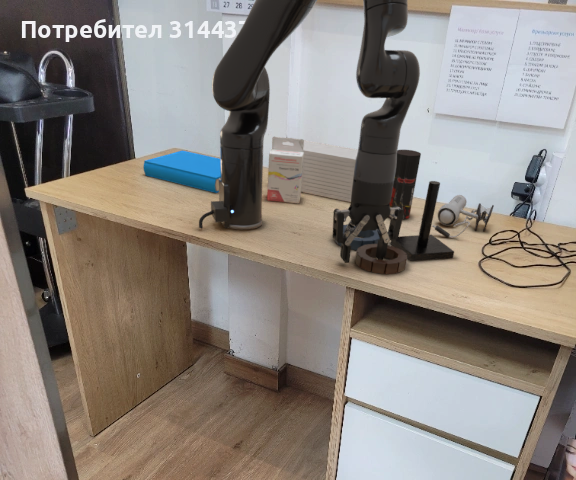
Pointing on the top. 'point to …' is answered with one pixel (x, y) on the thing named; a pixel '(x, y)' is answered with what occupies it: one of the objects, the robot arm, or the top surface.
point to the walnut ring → (381, 266)
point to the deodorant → (405, 180)
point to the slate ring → (369, 235)
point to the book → (186, 170)
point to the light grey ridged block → (327, 170)
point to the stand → (425, 234)
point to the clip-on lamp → (452, 211)
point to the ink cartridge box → (285, 170)
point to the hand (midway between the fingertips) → (362, 260)
